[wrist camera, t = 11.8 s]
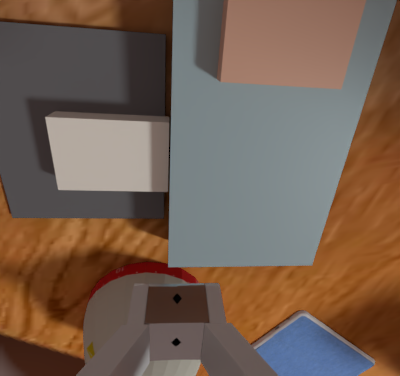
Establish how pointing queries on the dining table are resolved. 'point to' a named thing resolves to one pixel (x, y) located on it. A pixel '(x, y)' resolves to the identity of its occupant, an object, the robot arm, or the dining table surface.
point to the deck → (256, 148)
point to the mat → (72, 110)
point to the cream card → (109, 151)
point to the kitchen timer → (119, 308)
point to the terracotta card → (288, 41)
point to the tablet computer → (310, 349)
